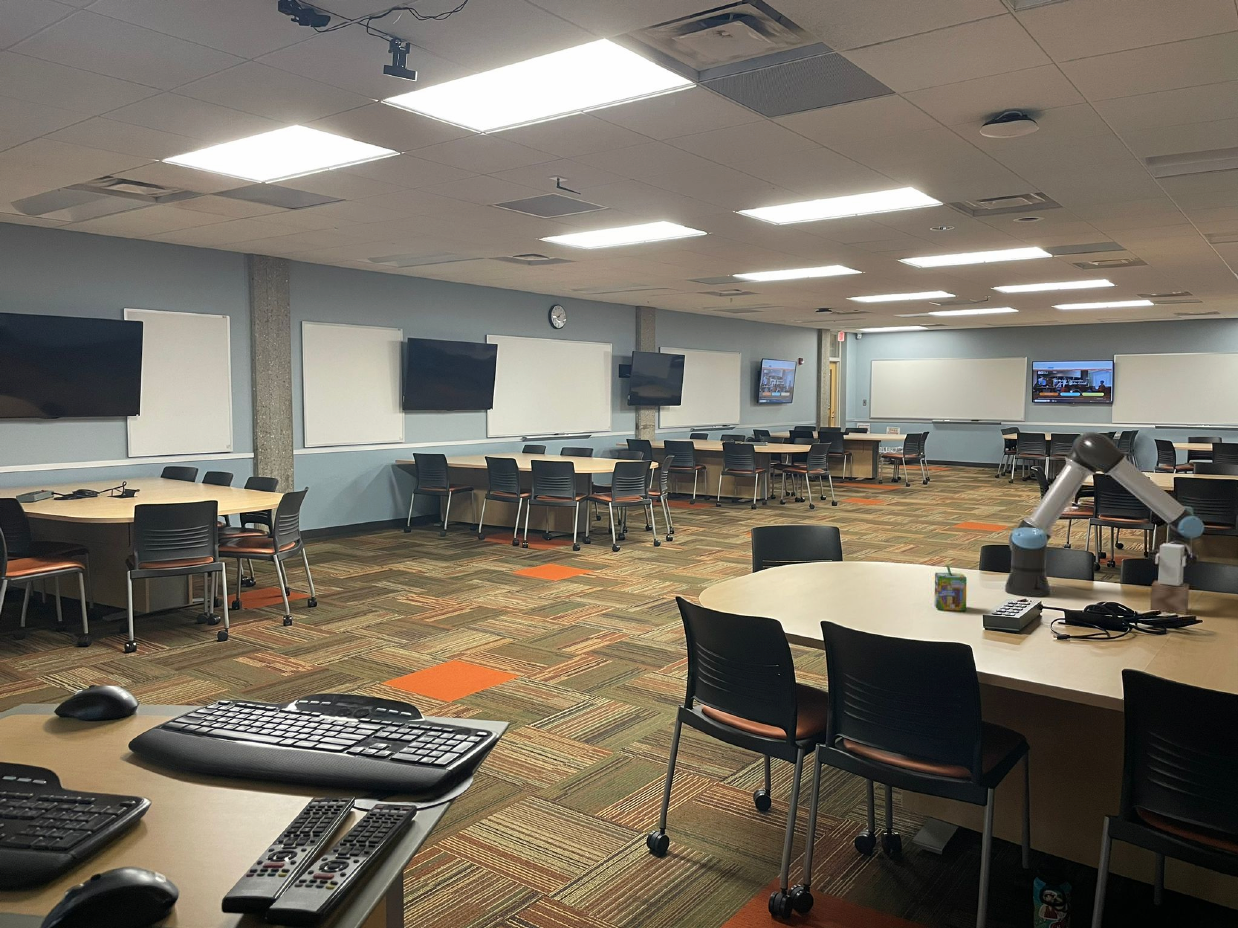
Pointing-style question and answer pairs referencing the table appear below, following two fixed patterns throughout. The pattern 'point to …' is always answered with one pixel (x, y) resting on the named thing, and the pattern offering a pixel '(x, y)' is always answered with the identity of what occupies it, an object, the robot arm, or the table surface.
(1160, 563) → the small box
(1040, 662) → the table surface
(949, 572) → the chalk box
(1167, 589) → the walnut block
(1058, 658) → the table surface
